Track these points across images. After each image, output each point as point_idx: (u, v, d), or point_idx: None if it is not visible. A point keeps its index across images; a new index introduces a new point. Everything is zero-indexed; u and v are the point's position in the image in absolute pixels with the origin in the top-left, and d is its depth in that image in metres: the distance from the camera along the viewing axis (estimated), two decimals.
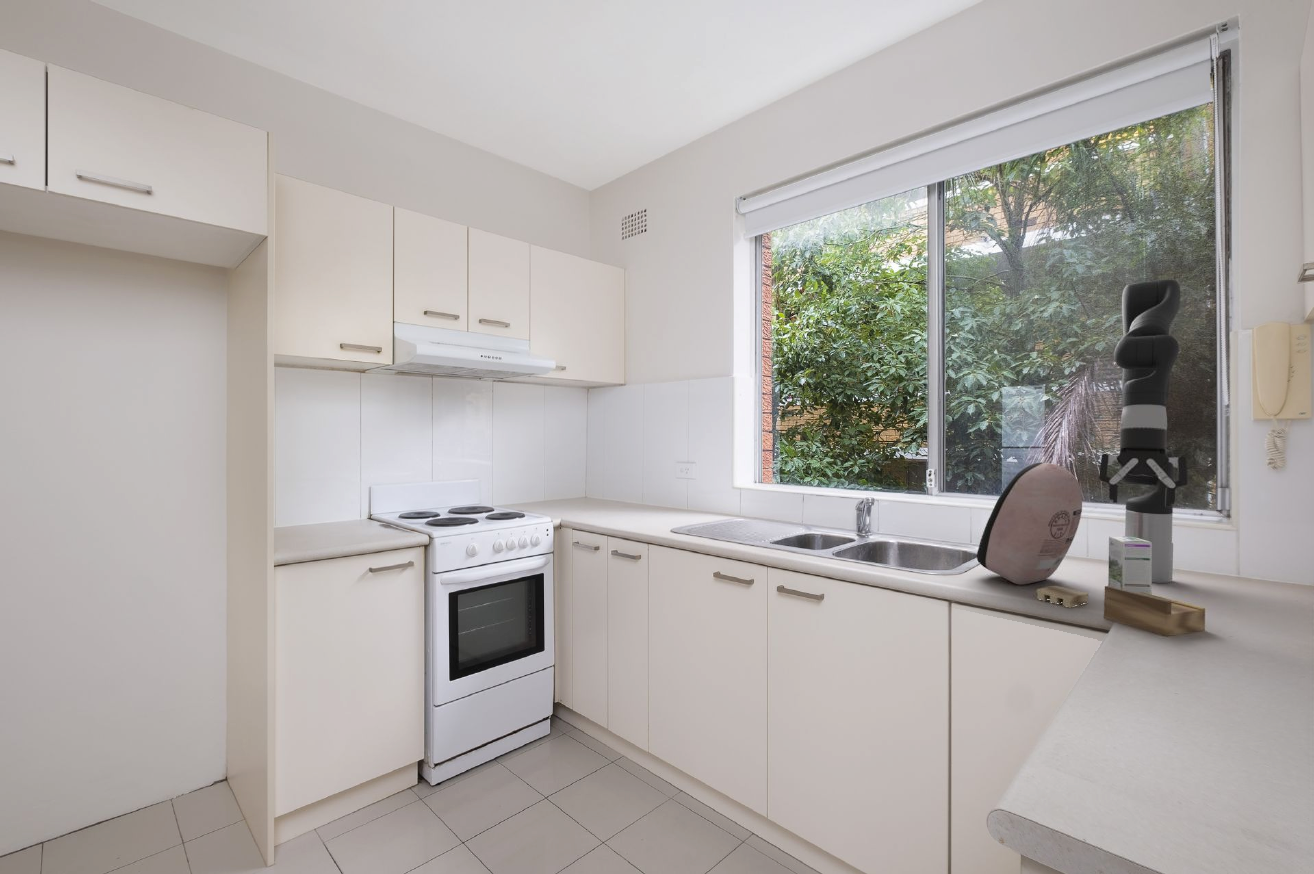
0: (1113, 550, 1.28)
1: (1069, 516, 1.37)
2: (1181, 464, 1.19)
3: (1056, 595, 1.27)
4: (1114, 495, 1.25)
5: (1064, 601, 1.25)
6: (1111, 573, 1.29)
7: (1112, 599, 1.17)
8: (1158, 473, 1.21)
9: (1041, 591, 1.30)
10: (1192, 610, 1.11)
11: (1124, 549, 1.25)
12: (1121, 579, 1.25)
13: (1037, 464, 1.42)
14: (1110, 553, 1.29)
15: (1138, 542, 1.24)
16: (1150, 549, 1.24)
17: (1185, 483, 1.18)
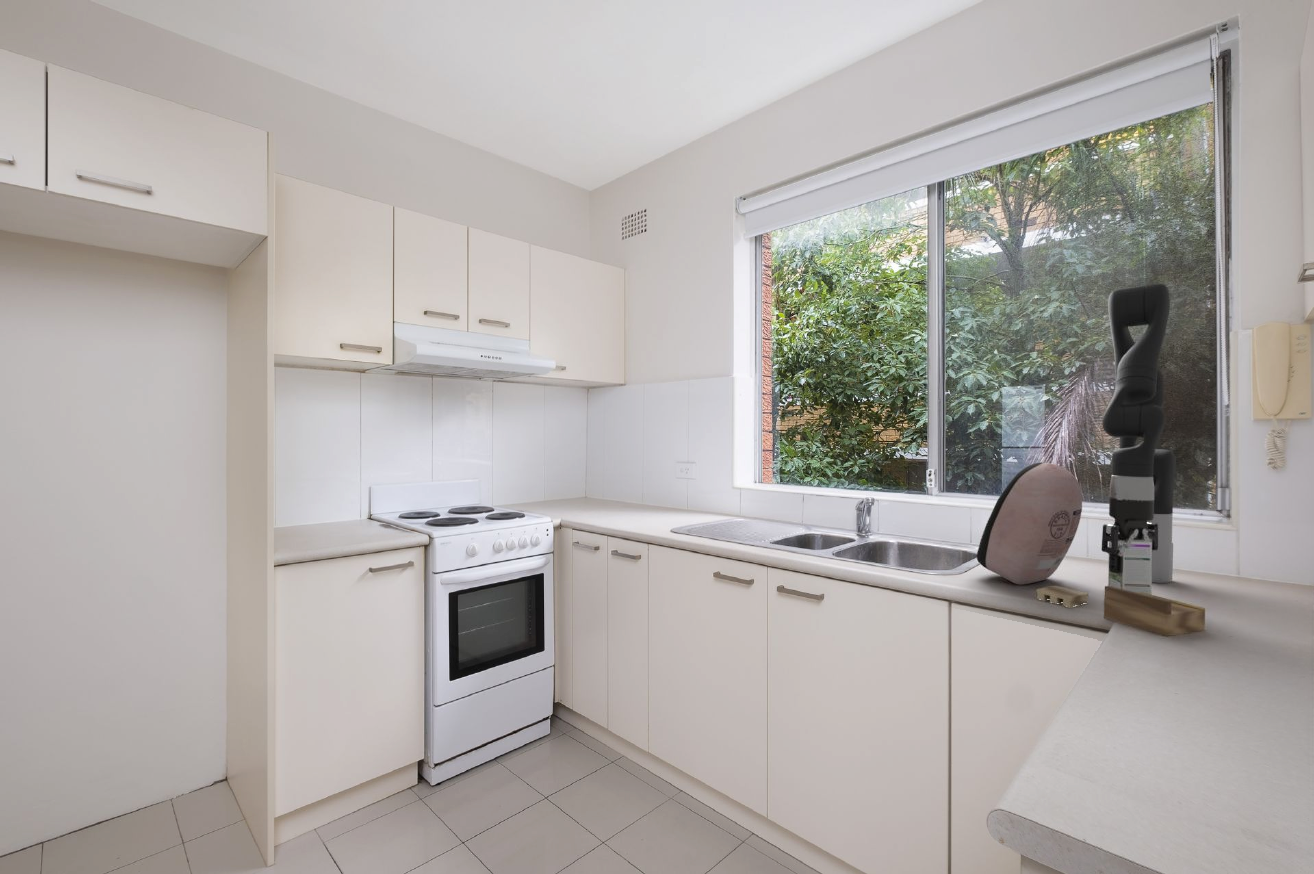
0: None
1: (1069, 516, 1.37)
2: (1155, 531, 1.28)
3: (1056, 595, 1.27)
4: (1121, 567, 1.25)
5: (1064, 601, 1.25)
6: (1111, 573, 1.29)
7: (1112, 599, 1.17)
8: None
9: (1041, 591, 1.30)
10: (1192, 610, 1.11)
11: None
12: (1121, 579, 1.25)
13: (1037, 464, 1.42)
14: None
15: (1138, 542, 1.24)
16: (1150, 549, 1.24)
17: (1157, 548, 1.28)
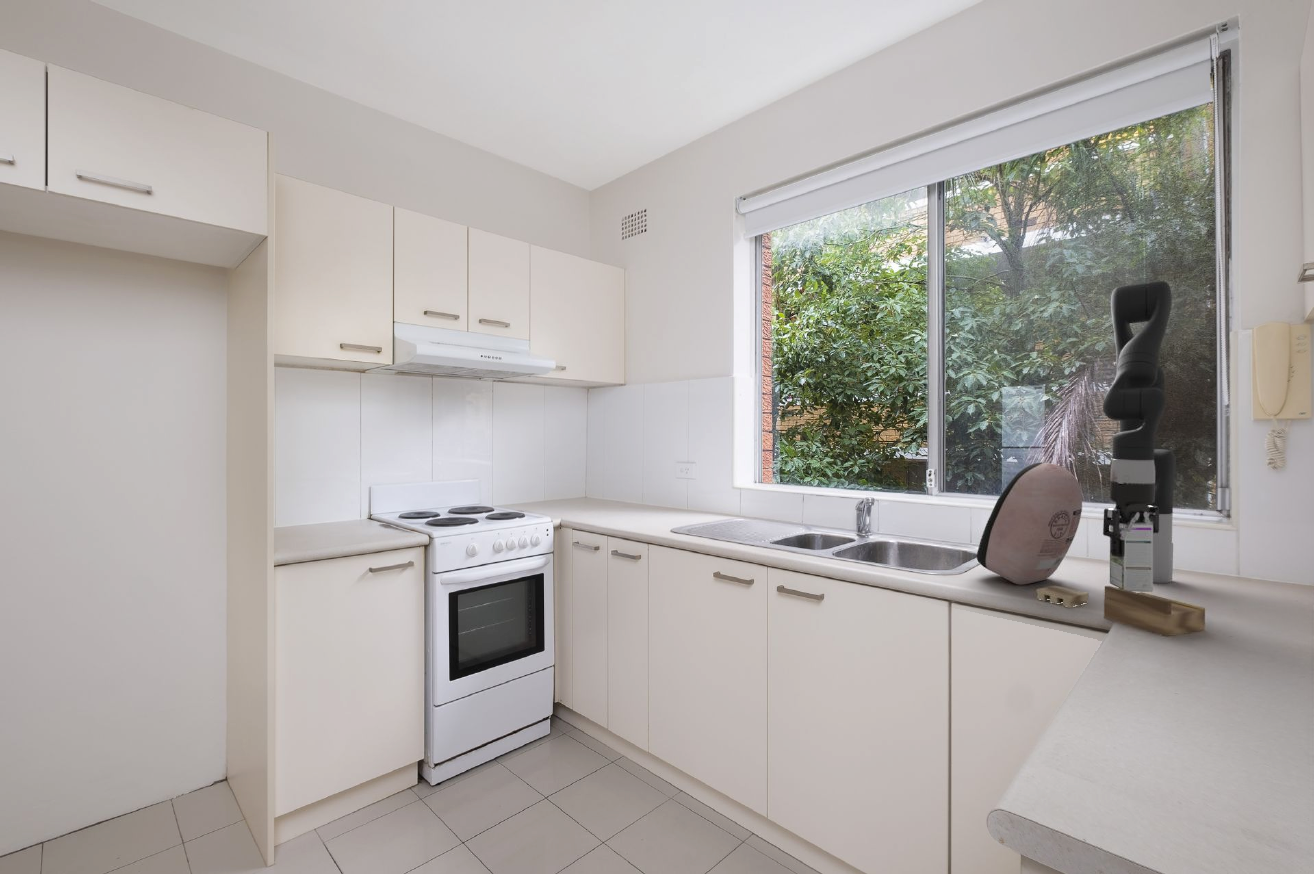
0: None
1: (1069, 516, 1.37)
2: (1156, 513, 1.28)
3: (1056, 595, 1.27)
4: (1122, 550, 1.25)
5: (1064, 601, 1.25)
6: (1112, 556, 1.29)
7: (1112, 599, 1.17)
8: None
9: (1041, 591, 1.30)
10: (1192, 610, 1.11)
11: None
12: (1122, 563, 1.25)
13: (1037, 464, 1.42)
14: None
15: (1139, 525, 1.24)
16: (1151, 532, 1.24)
17: None
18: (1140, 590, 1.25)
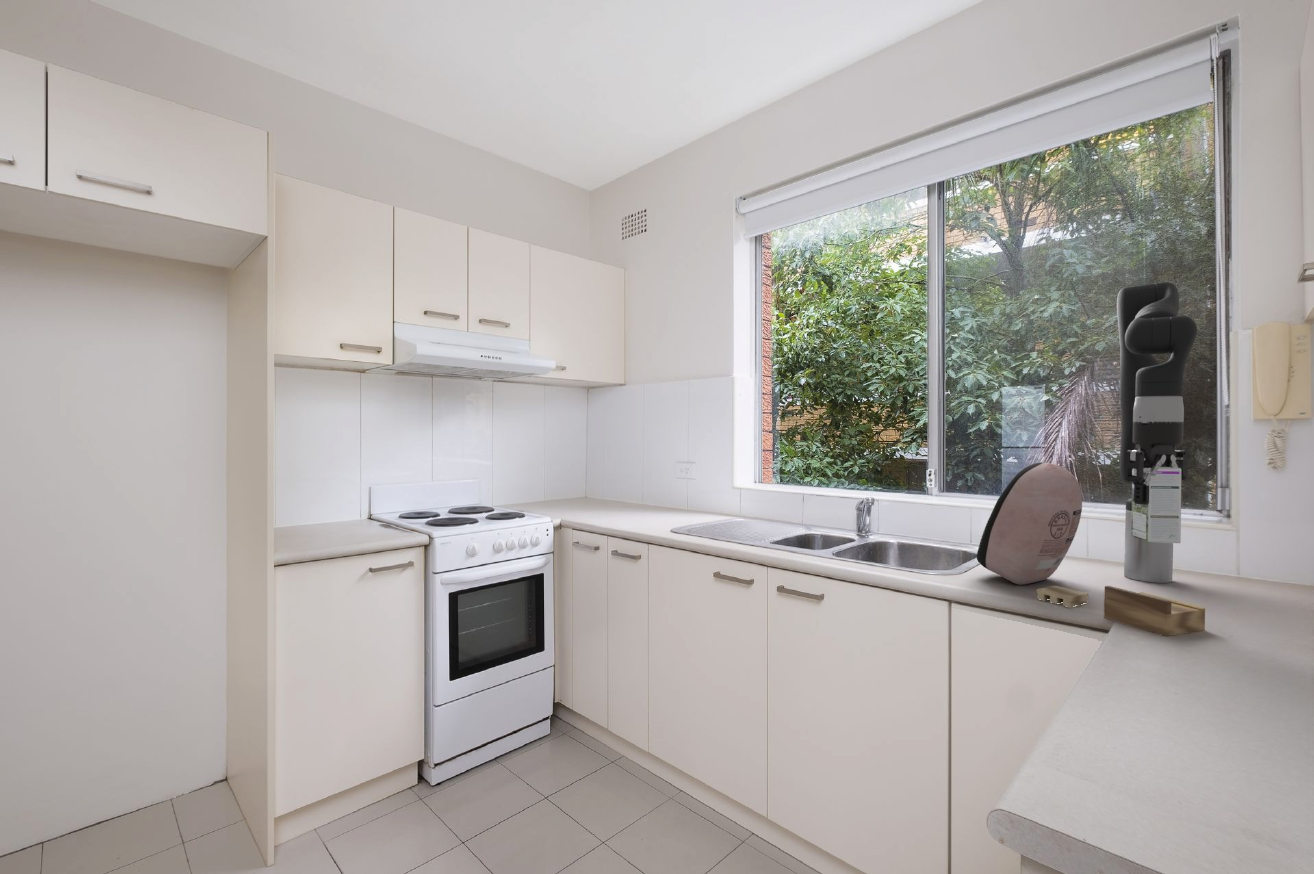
0: None
1: (1069, 516, 1.37)
2: (1184, 458, 1.15)
3: (1056, 595, 1.27)
4: (1147, 497, 1.12)
5: (1064, 601, 1.25)
6: (1135, 506, 1.16)
7: (1112, 599, 1.17)
8: None
9: (1041, 591, 1.30)
10: (1192, 610, 1.11)
11: None
12: (1146, 511, 1.13)
13: (1037, 464, 1.42)
14: None
15: (1166, 469, 1.12)
16: (1179, 476, 1.11)
17: (1186, 478, 1.15)
18: (1166, 541, 1.12)
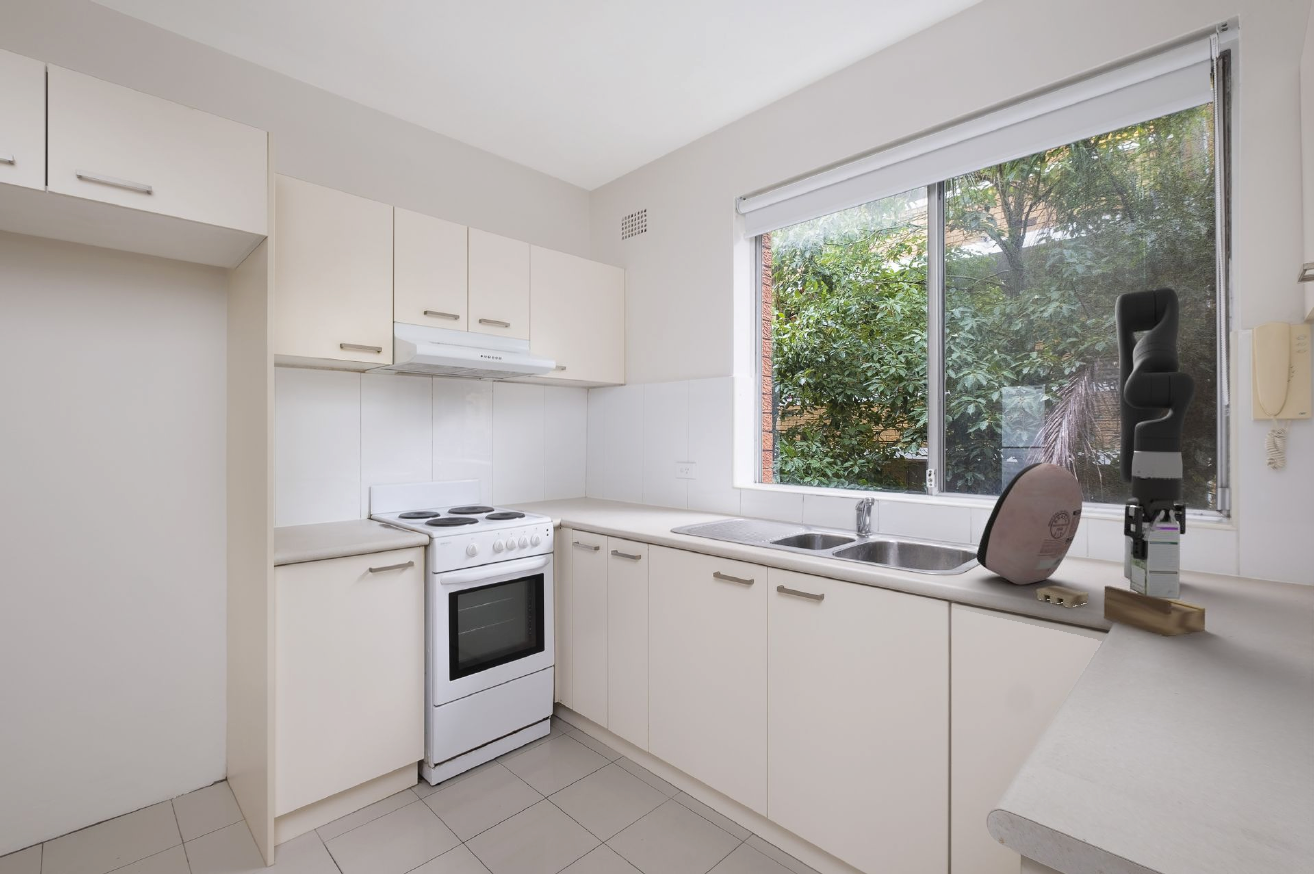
0: None
1: (1069, 516, 1.37)
2: (1183, 512, 1.15)
3: (1056, 595, 1.27)
4: (1146, 552, 1.12)
5: (1064, 601, 1.25)
6: (1134, 559, 1.17)
7: (1112, 599, 1.17)
8: None
9: (1041, 591, 1.30)
10: (1192, 610, 1.11)
11: None
12: (1145, 566, 1.13)
13: (1037, 464, 1.42)
14: None
15: (1165, 524, 1.12)
16: (1178, 532, 1.11)
17: (1184, 532, 1.16)
18: (1165, 597, 1.12)
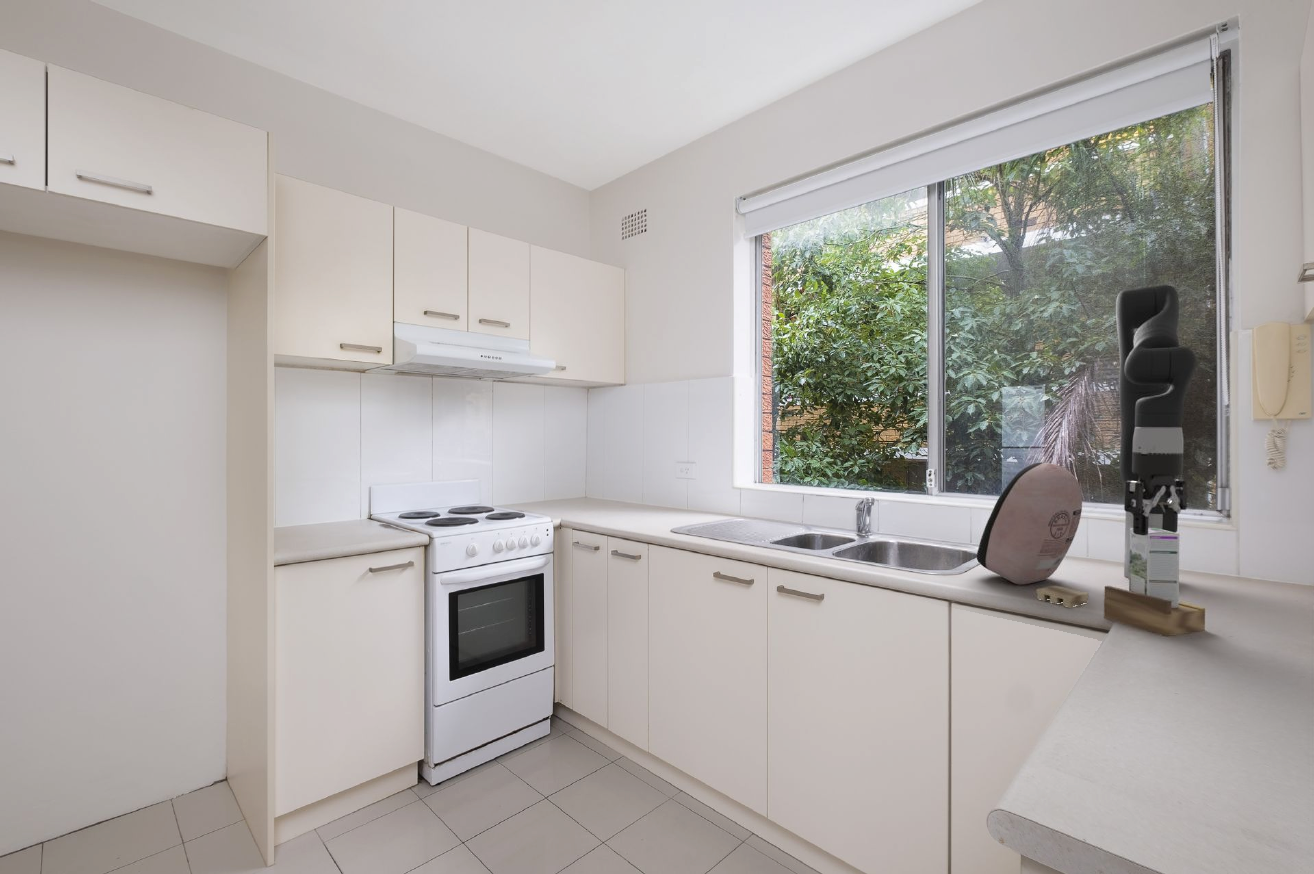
0: (1135, 543, 1.16)
1: (1069, 516, 1.37)
2: (1184, 488, 1.15)
3: (1056, 595, 1.27)
4: (1146, 528, 1.12)
5: (1064, 601, 1.25)
6: (1133, 568, 1.17)
7: (1112, 599, 1.17)
8: (1175, 500, 1.14)
9: (1041, 591, 1.30)
10: (1192, 610, 1.11)
11: (1149, 542, 1.12)
12: (1145, 575, 1.13)
13: (1037, 464, 1.42)
14: (1131, 546, 1.17)
15: (1164, 534, 1.12)
16: (1177, 541, 1.11)
17: (1186, 507, 1.15)
18: None
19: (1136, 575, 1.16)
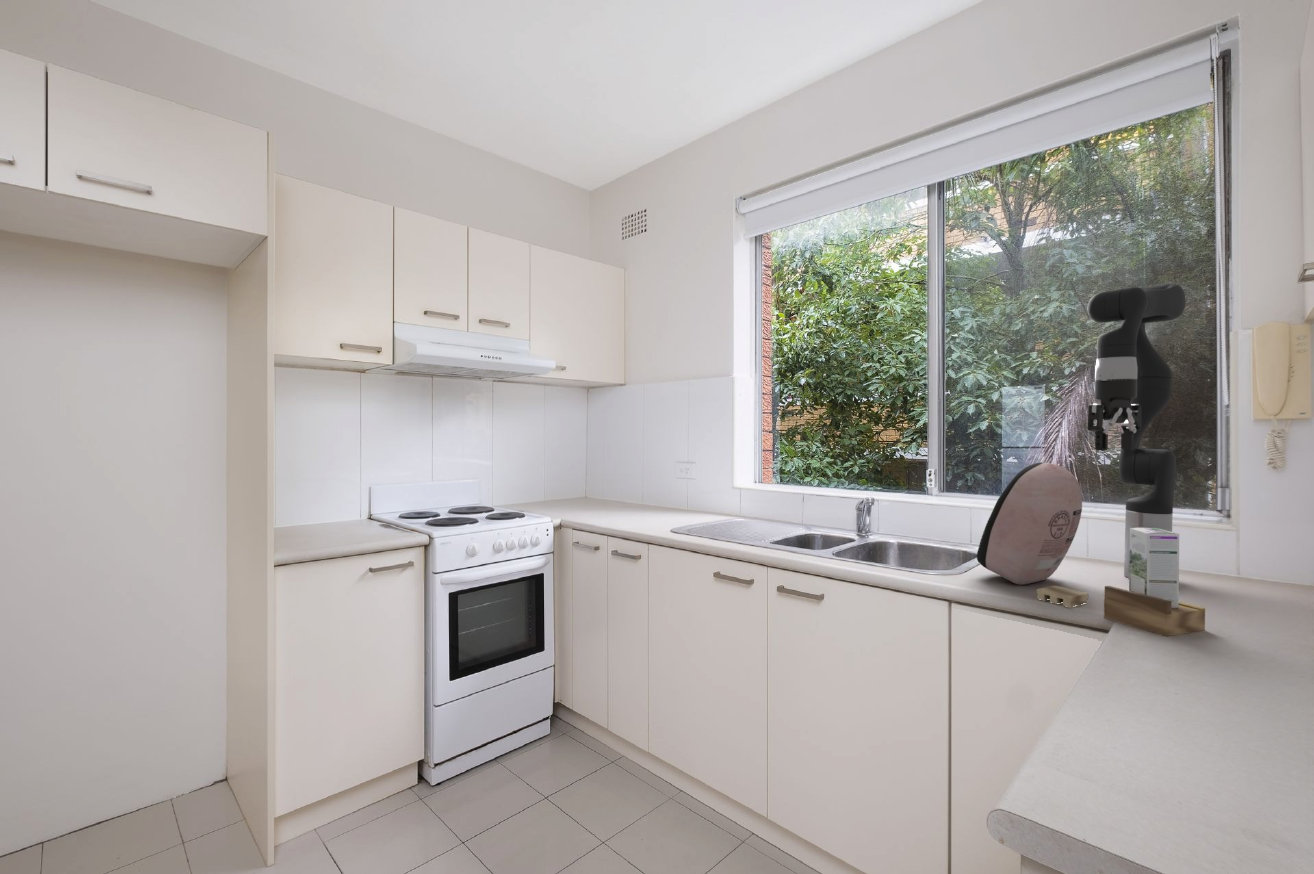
0: (1135, 543, 1.16)
1: (1069, 516, 1.37)
2: (1139, 411, 1.33)
3: (1056, 595, 1.27)
4: (1106, 443, 1.30)
5: (1064, 601, 1.25)
6: (1133, 568, 1.17)
7: (1112, 599, 1.17)
8: (1131, 420, 1.32)
9: (1041, 591, 1.30)
10: (1192, 610, 1.11)
11: (1149, 542, 1.12)
12: (1145, 575, 1.13)
13: (1037, 464, 1.42)
14: (1131, 546, 1.17)
15: (1164, 534, 1.12)
16: (1177, 541, 1.11)
17: (1140, 428, 1.34)
18: None
19: (1136, 575, 1.15)
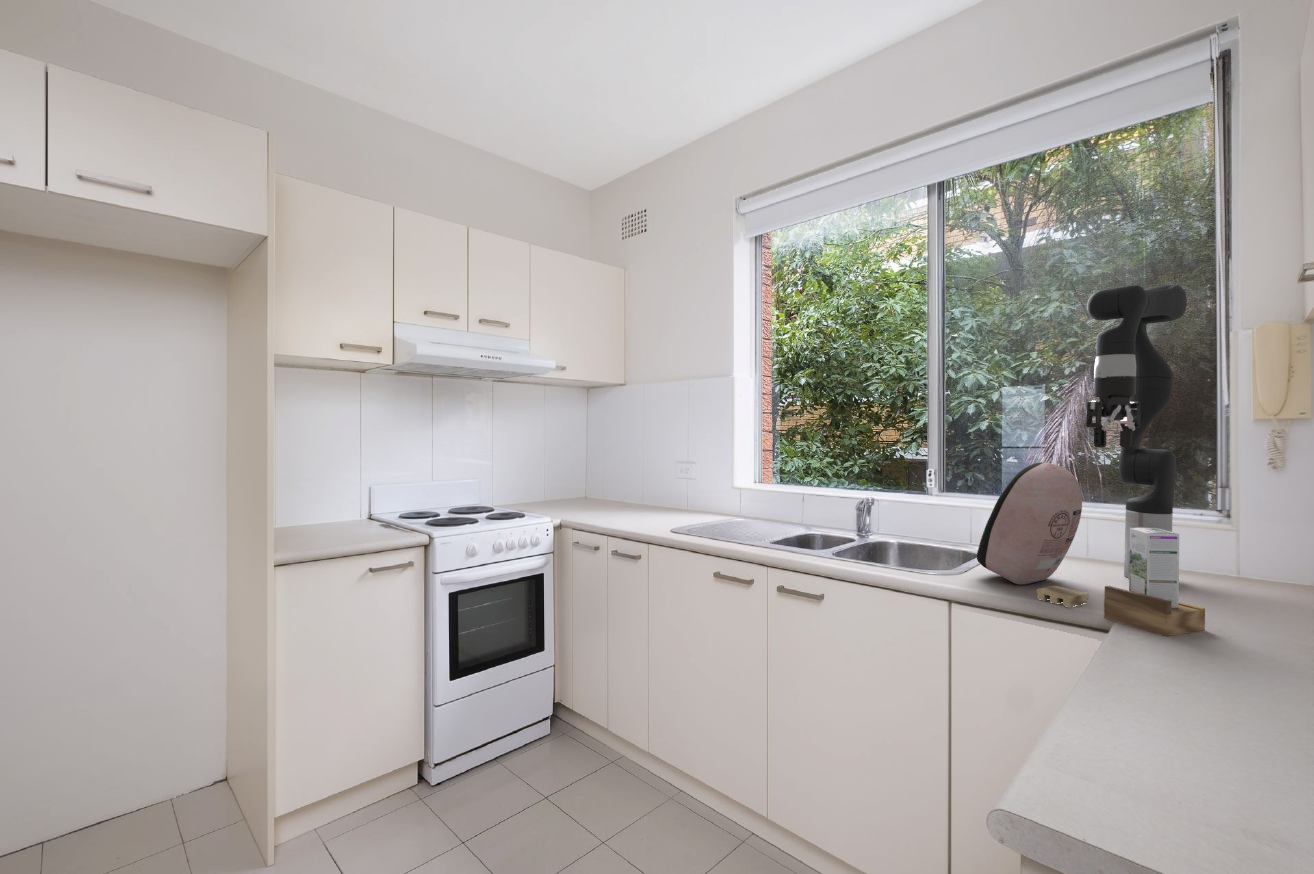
0: (1135, 543, 1.16)
1: (1069, 516, 1.37)
2: (1138, 409, 1.34)
3: (1056, 595, 1.27)
4: (1104, 440, 1.31)
5: (1064, 601, 1.25)
6: (1133, 568, 1.17)
7: (1112, 599, 1.17)
8: (1129, 418, 1.32)
9: (1041, 591, 1.30)
10: (1192, 610, 1.11)
11: (1149, 542, 1.12)
12: (1145, 575, 1.13)
13: (1037, 464, 1.42)
14: (1131, 546, 1.17)
15: (1164, 534, 1.12)
16: (1177, 541, 1.11)
17: (1139, 425, 1.34)
18: None
19: (1136, 575, 1.15)
